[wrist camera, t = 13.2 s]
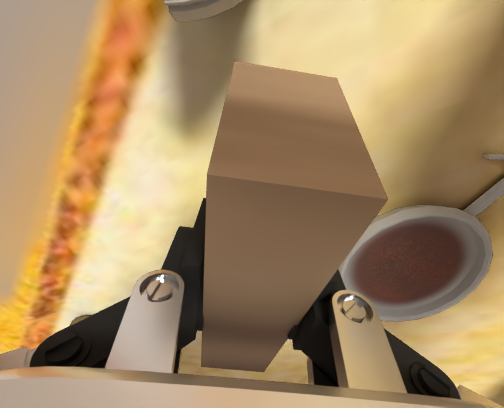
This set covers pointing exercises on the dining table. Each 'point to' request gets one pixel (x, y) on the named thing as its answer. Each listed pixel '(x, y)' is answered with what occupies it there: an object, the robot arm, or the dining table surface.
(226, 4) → the food container
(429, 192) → the dining table surface
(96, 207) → the dining table surface
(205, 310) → the plate
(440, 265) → the frying pan
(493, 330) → the dining table surface
